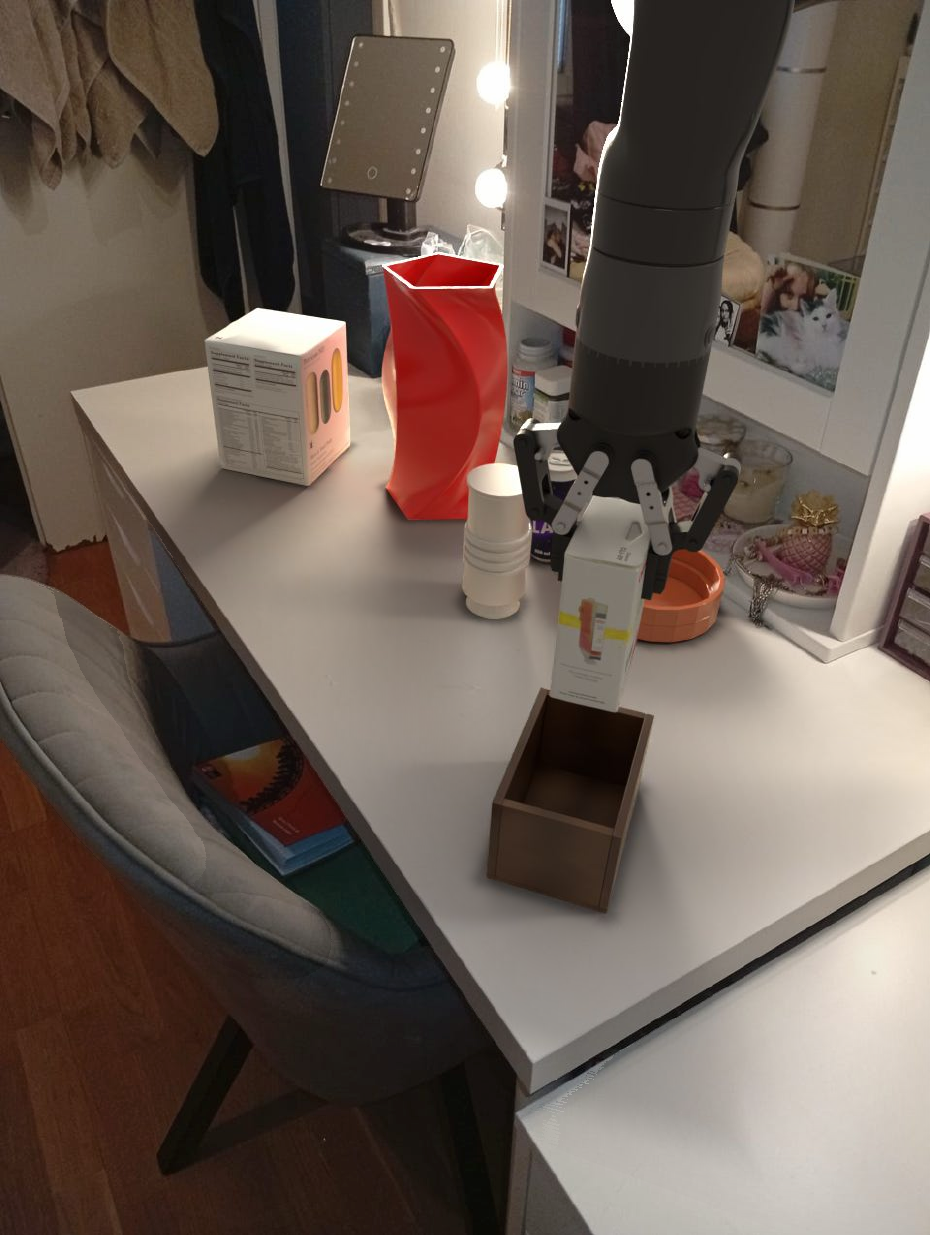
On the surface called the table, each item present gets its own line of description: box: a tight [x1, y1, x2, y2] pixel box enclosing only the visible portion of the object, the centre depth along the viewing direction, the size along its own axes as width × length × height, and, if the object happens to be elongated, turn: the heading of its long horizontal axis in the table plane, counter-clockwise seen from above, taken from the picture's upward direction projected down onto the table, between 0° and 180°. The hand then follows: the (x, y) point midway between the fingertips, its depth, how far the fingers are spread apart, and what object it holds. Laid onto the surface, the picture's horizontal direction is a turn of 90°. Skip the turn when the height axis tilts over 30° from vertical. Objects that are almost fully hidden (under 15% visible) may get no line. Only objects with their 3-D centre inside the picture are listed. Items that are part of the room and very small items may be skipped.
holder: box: [486, 687, 655, 914], centre depth 73 cm, size 9×13×8 cm
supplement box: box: [204, 307, 351, 487], centre depth 121 cm, size 13×13×18 cm
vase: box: [381, 252, 509, 521], centre depth 111 cm, size 15×14×28 cm
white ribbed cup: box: [461, 462, 532, 620], centre depth 96 cm, size 7×7×15 cm
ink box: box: [549, 495, 652, 712], centre depth 63 cm, size 9×5×12 cm, turn 161°
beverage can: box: [529, 449, 577, 563], centre depth 105 cm, size 6×6×12 cm
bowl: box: [637, 549, 726, 643], centre depth 100 cm, size 14×14×4 cm
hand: (606, 583), depth 62 cm, fingers closed on ink box, 5 cm apart
